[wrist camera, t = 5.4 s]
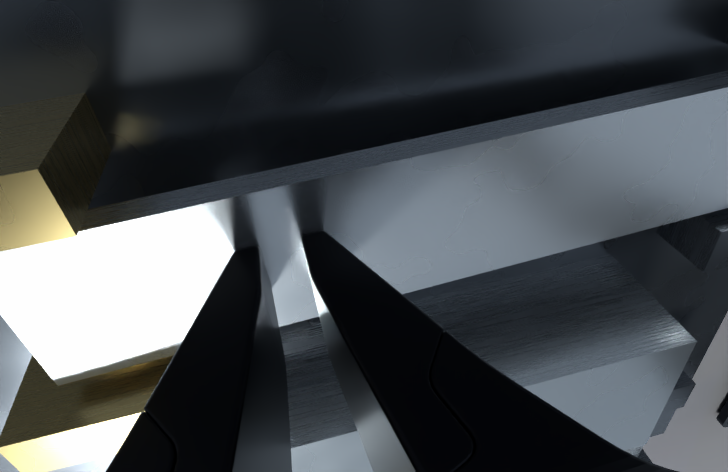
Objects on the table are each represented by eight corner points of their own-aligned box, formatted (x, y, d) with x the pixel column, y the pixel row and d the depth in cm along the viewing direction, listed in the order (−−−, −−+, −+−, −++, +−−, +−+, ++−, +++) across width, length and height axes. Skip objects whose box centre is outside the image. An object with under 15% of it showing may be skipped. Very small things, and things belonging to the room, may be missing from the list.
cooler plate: (855, -151, 10) (1254, -162, 6) (632, 392, 22) (721, 507, 18) (-374, 19, 7) (-1026, 184, 4) (122, 531, 19) (96, 701, 15)
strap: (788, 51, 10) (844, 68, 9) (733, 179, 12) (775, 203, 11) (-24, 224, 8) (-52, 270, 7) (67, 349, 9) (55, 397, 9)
